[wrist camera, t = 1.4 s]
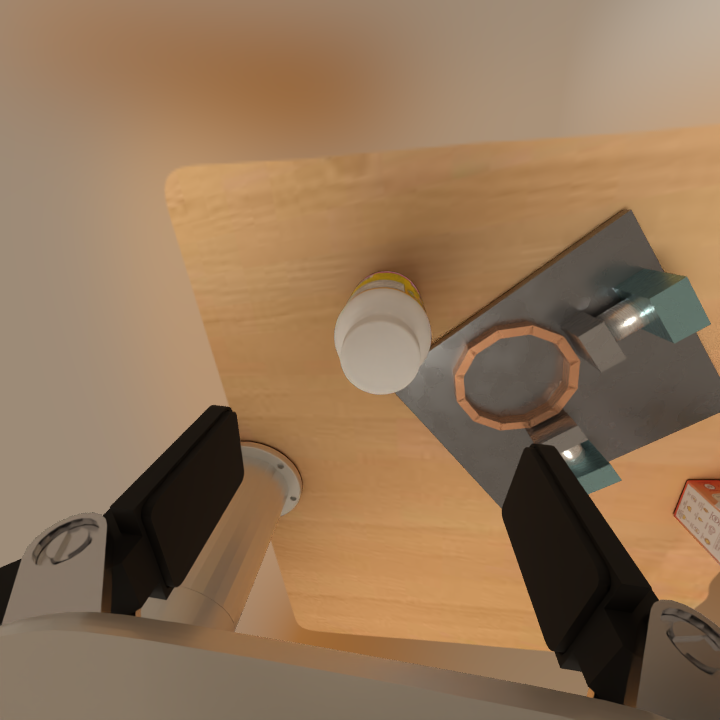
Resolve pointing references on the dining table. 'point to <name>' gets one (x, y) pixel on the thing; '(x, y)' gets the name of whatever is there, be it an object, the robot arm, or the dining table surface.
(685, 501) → the cracker box
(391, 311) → the supplement bottle
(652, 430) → the base
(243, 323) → the dining table surface
